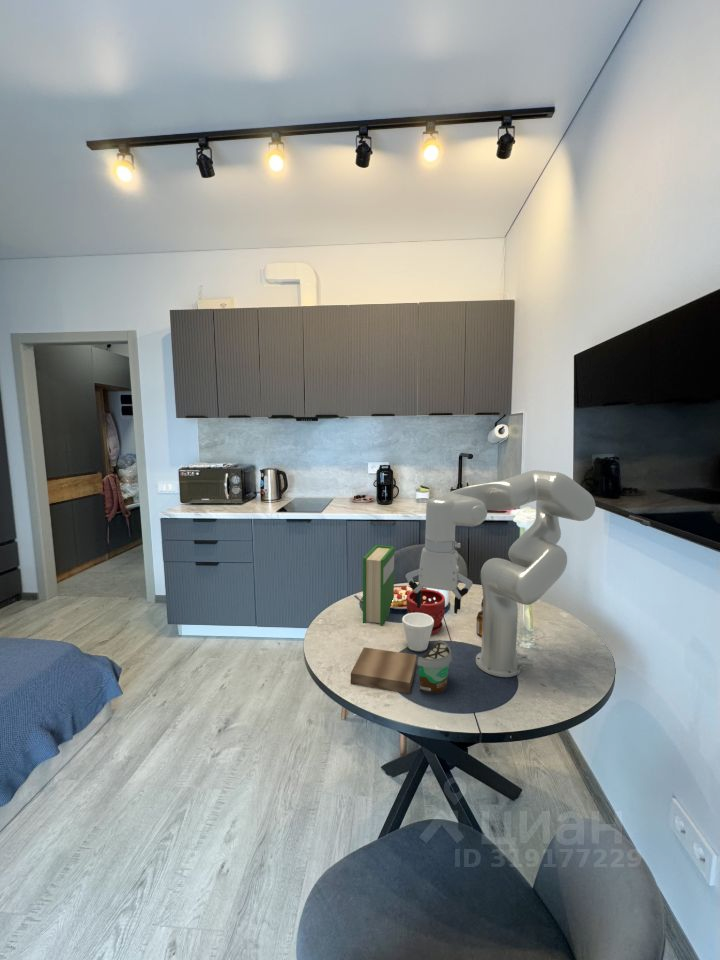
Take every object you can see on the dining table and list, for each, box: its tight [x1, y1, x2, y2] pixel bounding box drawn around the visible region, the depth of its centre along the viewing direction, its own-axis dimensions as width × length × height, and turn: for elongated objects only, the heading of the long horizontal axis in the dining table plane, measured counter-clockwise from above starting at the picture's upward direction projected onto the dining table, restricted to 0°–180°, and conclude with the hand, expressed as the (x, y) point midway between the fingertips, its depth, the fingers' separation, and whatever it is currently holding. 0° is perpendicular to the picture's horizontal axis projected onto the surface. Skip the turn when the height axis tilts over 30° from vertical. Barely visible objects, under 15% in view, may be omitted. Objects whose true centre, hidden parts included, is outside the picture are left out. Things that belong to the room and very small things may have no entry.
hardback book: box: [362, 544, 395, 627], centre depth 151 cm, size 18×7×24 cm, turn 163°
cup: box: [401, 613, 434, 653], centre depth 128 cm, size 10×10×9 cm
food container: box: [417, 639, 453, 695], centre depth 108 cm, size 12×6×10 cm, turn 143°
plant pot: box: [406, 588, 446, 635], centre depth 140 cm, size 13×13×12 cm
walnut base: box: [350, 647, 418, 695], centre depth 114 cm, size 16×14×3 cm
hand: (437, 608), depth 107 cm, fingers open, 9 cm apart
